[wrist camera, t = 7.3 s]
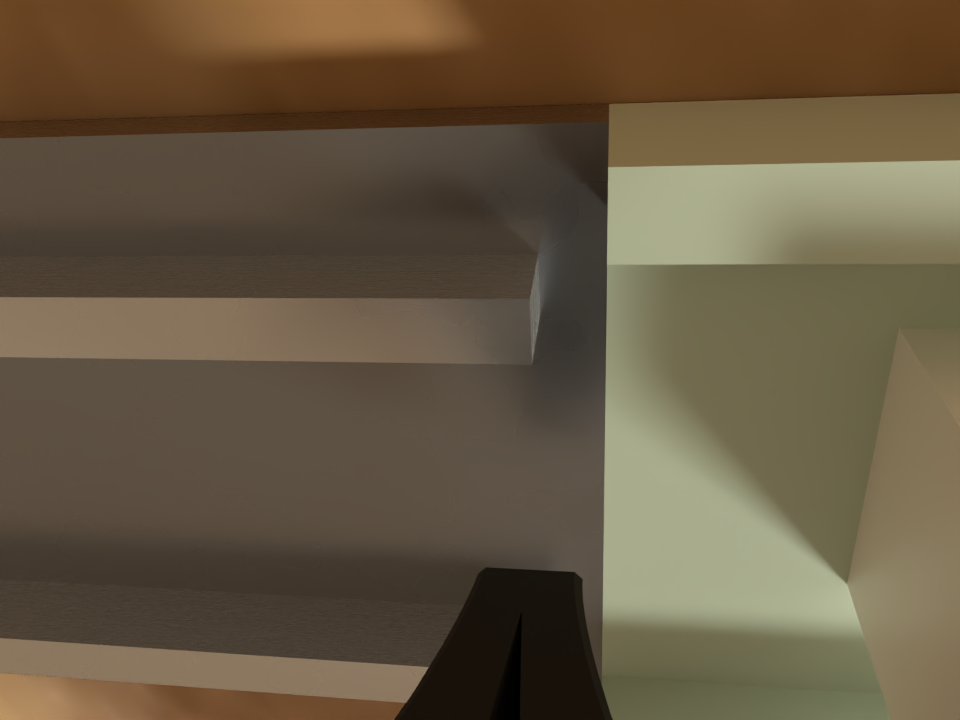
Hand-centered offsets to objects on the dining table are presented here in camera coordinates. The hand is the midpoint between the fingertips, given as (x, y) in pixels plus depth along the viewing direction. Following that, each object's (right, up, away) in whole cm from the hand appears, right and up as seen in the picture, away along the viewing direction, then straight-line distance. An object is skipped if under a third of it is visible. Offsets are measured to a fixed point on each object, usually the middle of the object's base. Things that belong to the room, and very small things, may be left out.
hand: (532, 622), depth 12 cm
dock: (-6, +2, +4) cm, 8 cm away
